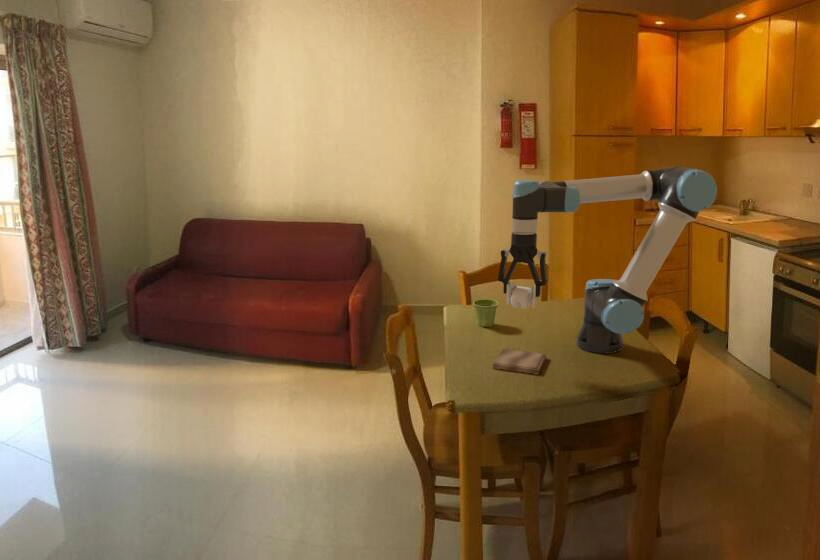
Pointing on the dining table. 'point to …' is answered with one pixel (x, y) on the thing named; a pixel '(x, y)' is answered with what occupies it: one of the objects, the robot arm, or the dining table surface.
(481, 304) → the plant pot
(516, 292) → the elephant figurine
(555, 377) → the dining table surface
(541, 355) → the folded cloth
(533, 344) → the dining table surface
